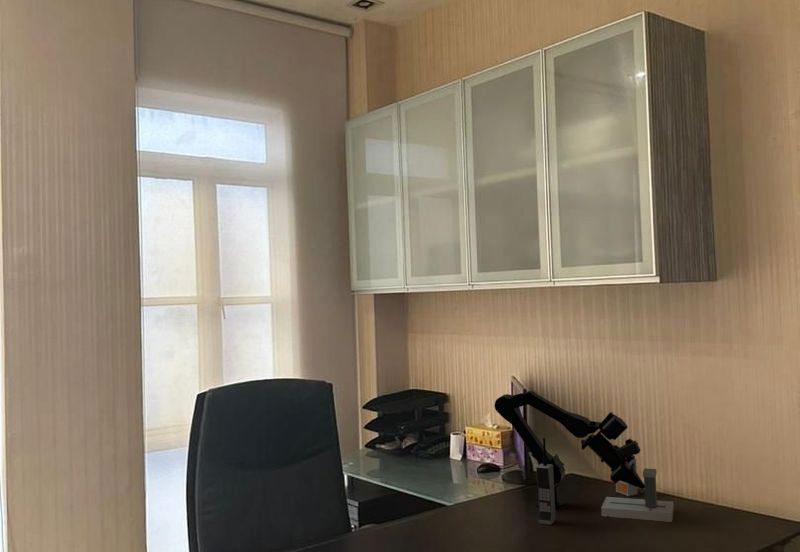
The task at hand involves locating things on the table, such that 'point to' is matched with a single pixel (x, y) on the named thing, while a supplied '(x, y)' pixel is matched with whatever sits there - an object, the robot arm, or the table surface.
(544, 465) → the vintage mobile phone
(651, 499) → the fader tab
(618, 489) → the skincare box
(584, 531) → the table surface
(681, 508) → the table surface
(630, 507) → the block
